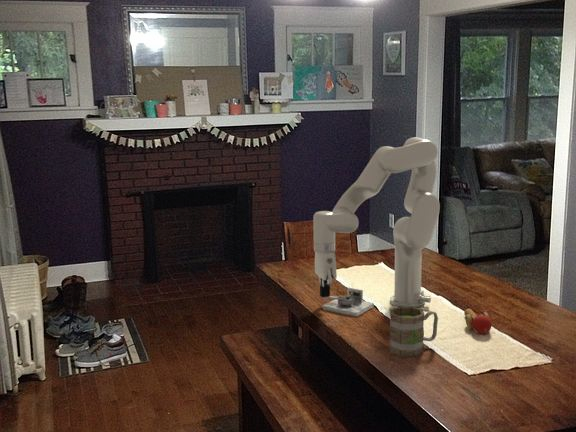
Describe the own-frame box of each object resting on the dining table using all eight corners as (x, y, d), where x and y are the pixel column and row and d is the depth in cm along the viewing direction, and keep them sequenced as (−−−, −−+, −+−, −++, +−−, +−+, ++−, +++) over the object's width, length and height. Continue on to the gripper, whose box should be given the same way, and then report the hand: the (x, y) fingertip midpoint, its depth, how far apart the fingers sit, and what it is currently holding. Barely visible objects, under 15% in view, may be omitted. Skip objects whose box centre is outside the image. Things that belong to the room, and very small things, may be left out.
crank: (356, 301, 236) (356, 281, 235) (351, 306, 231) (351, 286, 229) (324, 297, 241) (324, 277, 239) (319, 302, 235) (318, 282, 234)
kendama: (454, 321, 224) (470, 333, 206) (458, 303, 224) (474, 314, 206) (477, 324, 224) (494, 337, 206) (480, 306, 224) (498, 318, 206)
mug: (397, 359, 191) (398, 320, 189) (382, 345, 202) (382, 308, 199) (445, 351, 196) (446, 313, 193) (428, 338, 206) (429, 302, 203)
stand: (373, 306, 235) (373, 291, 234) (356, 317, 226) (356, 300, 225) (340, 300, 244) (340, 284, 242) (322, 309, 234) (322, 293, 233)
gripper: (342, 250, 223) (342, 301, 227) (326, 240, 237) (327, 289, 241) (322, 252, 221) (322, 304, 225) (307, 242, 235) (307, 291, 239)
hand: (324, 296), depth 233 cm, fingers closed
